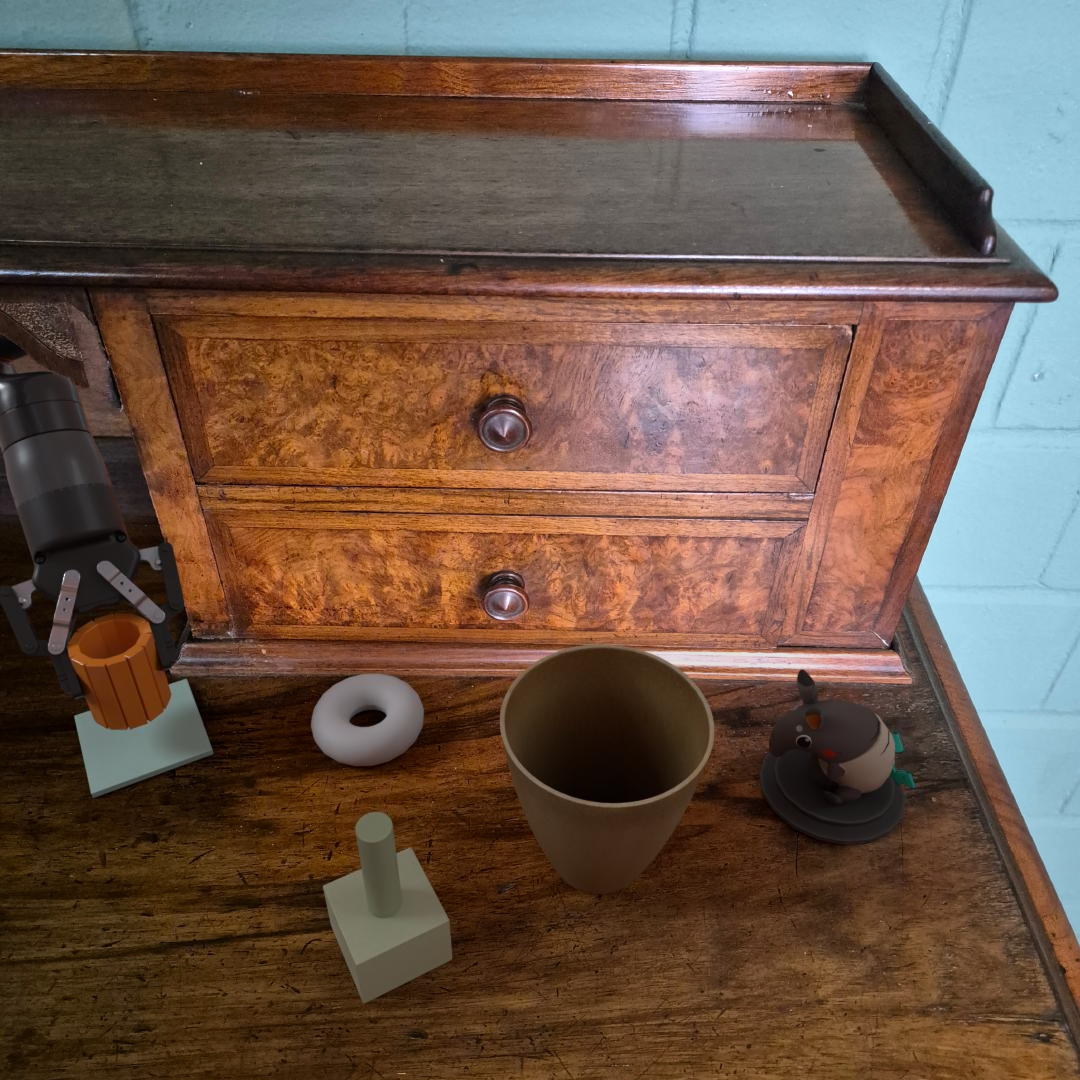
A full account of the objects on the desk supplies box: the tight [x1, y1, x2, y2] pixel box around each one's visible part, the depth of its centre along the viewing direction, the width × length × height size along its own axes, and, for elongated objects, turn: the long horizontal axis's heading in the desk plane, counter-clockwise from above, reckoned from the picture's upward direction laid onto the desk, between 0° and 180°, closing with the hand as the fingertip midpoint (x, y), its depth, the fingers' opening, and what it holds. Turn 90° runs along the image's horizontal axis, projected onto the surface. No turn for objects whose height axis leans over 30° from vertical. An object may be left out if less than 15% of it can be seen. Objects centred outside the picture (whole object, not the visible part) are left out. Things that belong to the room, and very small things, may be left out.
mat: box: [73, 678, 214, 799], centre depth 85 cm, size 10×10×1 cm
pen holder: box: [67, 612, 172, 730], centre depth 80 cm, size 6×6×8 cm
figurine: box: [758, 669, 916, 845], centre depth 77 cm, size 11×12×12 cm
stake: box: [322, 811, 453, 1005], centre depth 65 cm, size 7×7×14 cm
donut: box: [310, 673, 425, 767], centre depth 85 cm, size 10×4×10 cm
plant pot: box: [499, 643, 715, 895], centre depth 71 cm, size 15×15×16 cm
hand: (124, 682), depth 79 cm, fingers closed on pen holder, 6 cm apart
